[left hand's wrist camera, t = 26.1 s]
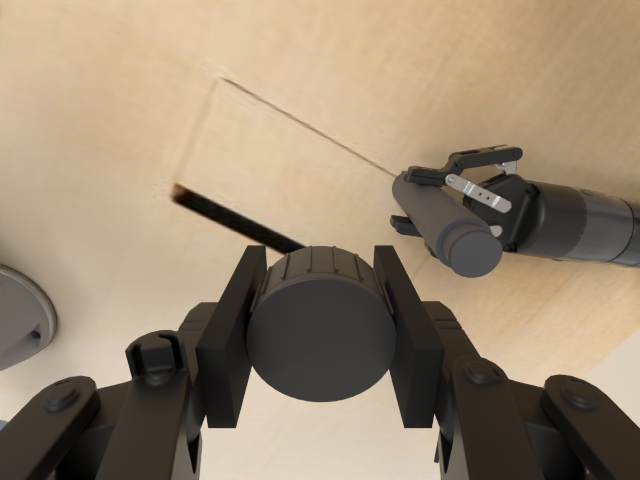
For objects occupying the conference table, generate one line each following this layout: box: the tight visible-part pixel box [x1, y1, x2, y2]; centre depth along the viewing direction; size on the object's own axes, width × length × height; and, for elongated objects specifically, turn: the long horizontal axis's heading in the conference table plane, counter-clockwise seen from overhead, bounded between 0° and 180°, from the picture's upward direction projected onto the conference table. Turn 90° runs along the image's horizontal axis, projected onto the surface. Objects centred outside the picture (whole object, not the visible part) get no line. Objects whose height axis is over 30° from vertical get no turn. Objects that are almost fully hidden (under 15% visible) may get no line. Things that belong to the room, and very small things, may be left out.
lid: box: [246, 246, 397, 402], centre depth 11 cm, size 5×5×2 cm
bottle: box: [392, 174, 502, 278], centre depth 31 cm, size 4×4×20 cm
